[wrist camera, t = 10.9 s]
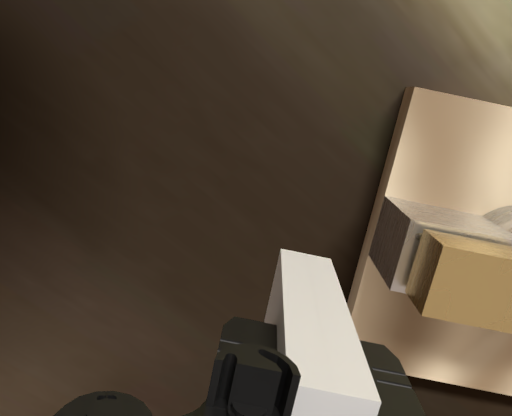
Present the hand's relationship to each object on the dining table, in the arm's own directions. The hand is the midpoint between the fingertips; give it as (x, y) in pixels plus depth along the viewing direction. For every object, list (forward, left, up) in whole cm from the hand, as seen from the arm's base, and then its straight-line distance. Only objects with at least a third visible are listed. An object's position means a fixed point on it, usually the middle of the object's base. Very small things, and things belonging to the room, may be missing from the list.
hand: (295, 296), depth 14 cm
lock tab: (+7, 0, -5) cm, 9 cm away
